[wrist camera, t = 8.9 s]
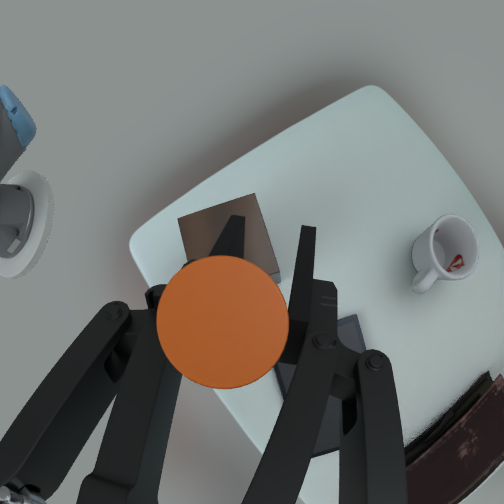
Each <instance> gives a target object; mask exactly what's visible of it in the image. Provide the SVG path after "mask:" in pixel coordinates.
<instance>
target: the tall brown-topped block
mask: <svg viewBox="0 0 504 504" xmlns="http://www.w3.org/2000/svg"><path fill="white" fill-rule="evenodd" d="M231 215H238V216H245V239H244V260H247V261H249V262H251V263H253V264H255V265H256V266H258V267H260V268H261V269H262V270H263V271H265V272H266V273H267V274H268V275H269V276H270V277H271V278H272V279H273V280H274V282H275V283H276V284H277V283H280V282H281V278H280V271H279V268H278V264H277V261H276V258H275V255H274V252H273V248H272V245H271V242H270V239H269V236H268V233H267V230H266V226H265V223H264V220H263V217H262V214H261V211H260V208H259V205H258V202H257V199H256V195H255V193H253V194H250V195H246V196H243V197H240V198H237V199H234V200H231V201H228V202H225V203H222V204H219V205H216V206H213V207H210V208H207V209H204V210H201V211H198V212H195V213H192V214H189V215H186V216H183V217H180V218H178V223H179V227H180V232H181V236H182V240H183V244H184V248H185V252H186V257H187V261H190V260H191V259H195V260H199V259H201V258H205V257H208V255H209V254H210V252H211V250H212V248H213V246H214V245H215V243H216V241H217V239H218V238H219V236H220V234H221V232H222V230H223V229H224V227H225V225H226V223H227V222H228V220H229V218H230V216H231Z"/></svg>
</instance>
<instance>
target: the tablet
mask: <svg viewBox="0 0 504 504" xmlns="http://www.w3.org/2000/svg"><path fill="white" fill-rule="evenodd" d="M337 333H338V337H339V340H340V341H341V342H342V344H343V345H345V346H346V347H347V348H349V349H351V350H353V351H356V352H358V353H360V354H361V353H362V352H364V351H366V346H365V343H364V339H363V335H362V332H361V328H360V325H359V321H358V318H357V315H356V314H354V315H351V316H349V317H346V318H343V319H340V320H337ZM296 366H297V365H292V364H286V363H280V362H279V359H278V361H277V362H276V364H275V365H274V370H275V373H276V376H277V380H278V383H279V386H280V389H281V393H282V396H283V399H284V400H285V397H286V394H287V391H288V389H289V386H290V383H291V380H292V377H293V374H294V371H295V368H296ZM337 450H339V411H338V398H336V397H333V396H331V395H329V397H328V401H327V405H326V409H325V413H324V416H323V420H322V423H321V427H320V431H319V434H318V437H317V441H316V444H315V447H314V450H313V454H312V457H311V458H314V457H317V456H321V455H324V454H327V453H331V452H334V451H337Z"/></svg>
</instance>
